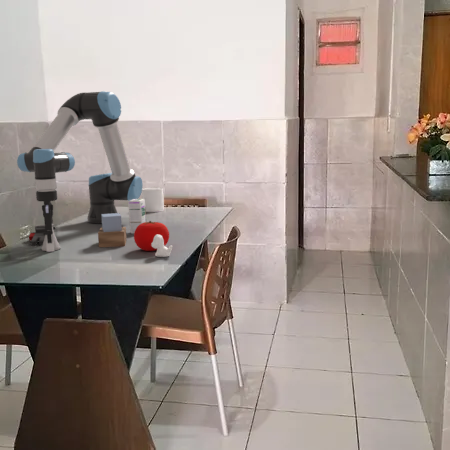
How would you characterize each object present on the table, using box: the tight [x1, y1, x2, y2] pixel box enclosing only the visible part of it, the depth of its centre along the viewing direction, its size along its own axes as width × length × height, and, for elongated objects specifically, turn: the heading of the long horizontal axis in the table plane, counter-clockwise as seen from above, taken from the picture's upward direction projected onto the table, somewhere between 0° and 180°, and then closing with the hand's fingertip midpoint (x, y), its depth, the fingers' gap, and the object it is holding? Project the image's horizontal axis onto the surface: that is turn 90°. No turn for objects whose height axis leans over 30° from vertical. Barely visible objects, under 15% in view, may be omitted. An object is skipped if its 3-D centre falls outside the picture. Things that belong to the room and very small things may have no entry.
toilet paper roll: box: [141, 186, 165, 213], centre depth 303 cm, size 12×12×12 cm
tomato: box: [133, 220, 170, 252], centre depth 209 cm, size 12×13×11 cm
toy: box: [28, 223, 45, 247], centre depth 230 cm, size 9×6×15 cm
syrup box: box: [127, 198, 147, 235], centre depth 243 cm, size 6×6×14 cm
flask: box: [41, 222, 62, 252], centre depth 214 cm, size 7×7×10 cm
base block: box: [97, 226, 127, 248], centre depth 221 cm, size 10×10×6 cm
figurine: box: [151, 234, 173, 258], centre depth 198 cm, size 5×8×8 cm
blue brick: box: [101, 212, 123, 232], centre depth 220 cm, size 7×7×6 cm
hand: (50, 248), depth 215 cm, fingers open, 8 cm apart
